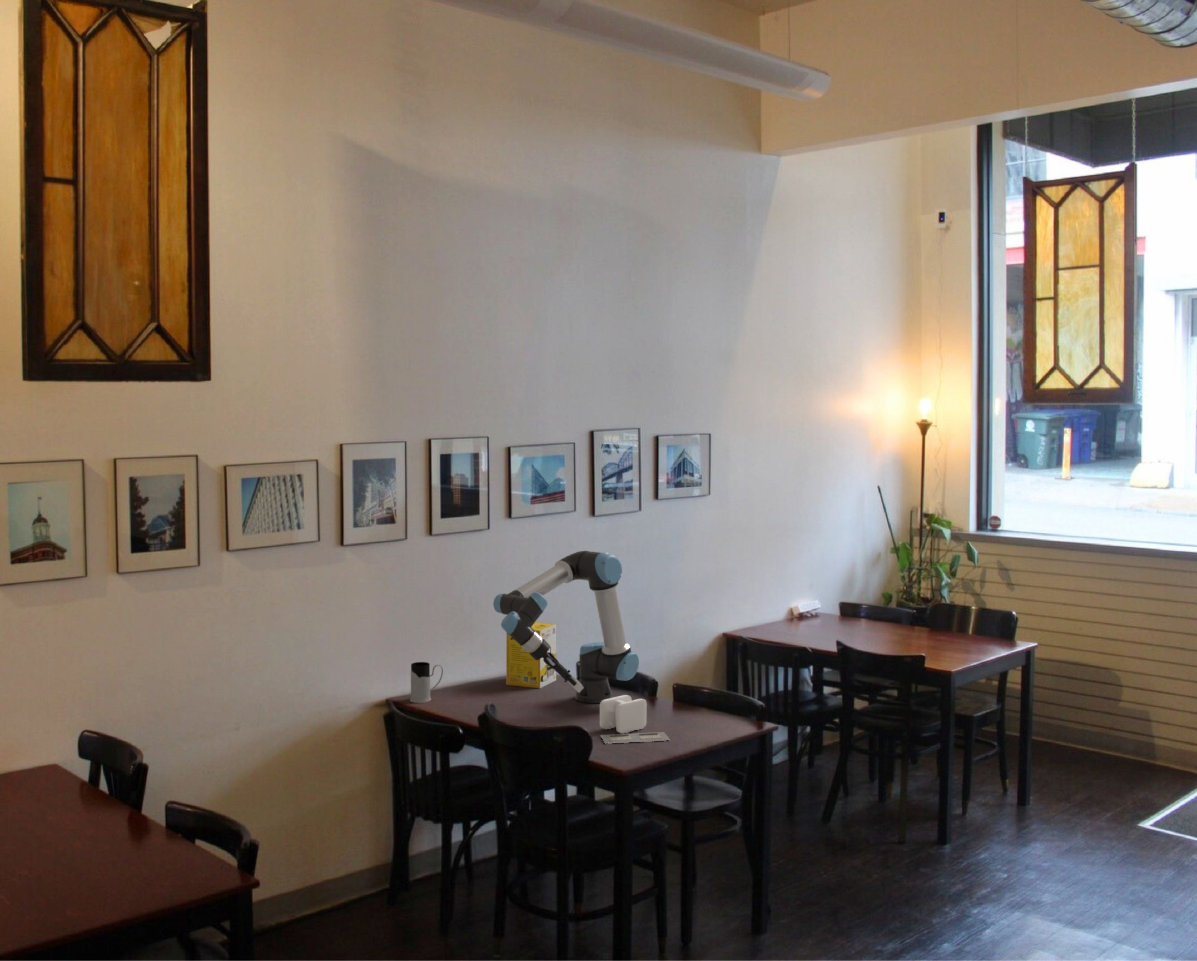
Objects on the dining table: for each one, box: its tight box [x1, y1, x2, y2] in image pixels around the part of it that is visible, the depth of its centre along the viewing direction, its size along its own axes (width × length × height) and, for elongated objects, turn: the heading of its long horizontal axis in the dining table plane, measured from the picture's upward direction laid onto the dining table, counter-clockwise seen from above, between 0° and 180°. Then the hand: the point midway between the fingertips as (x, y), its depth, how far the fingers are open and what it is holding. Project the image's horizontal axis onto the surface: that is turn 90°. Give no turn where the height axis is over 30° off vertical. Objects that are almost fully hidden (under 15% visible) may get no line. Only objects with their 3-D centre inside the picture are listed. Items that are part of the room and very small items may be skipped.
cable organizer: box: [599, 694, 648, 734], centre depth 425 cm, size 15×11×12 cm
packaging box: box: [505, 622, 557, 689], centre depth 496 cm, size 16×16×25 cm
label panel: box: [599, 731, 671, 745], centre depth 414 cm, size 10×24×1 cm, turn 100°
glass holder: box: [409, 661, 444, 704], centre depth 468 cm, size 9×14×15 cm, turn 121°
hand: (580, 688), depth 422 cm, fingers open, 3 cm apart
